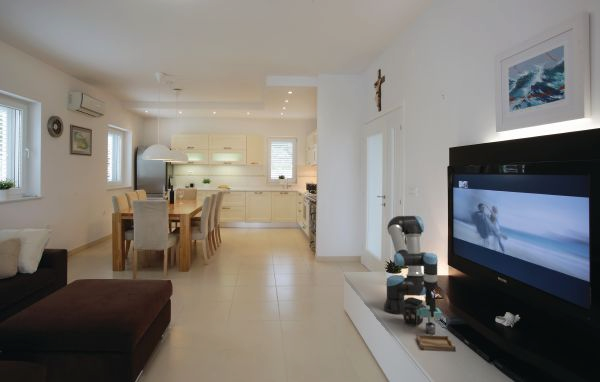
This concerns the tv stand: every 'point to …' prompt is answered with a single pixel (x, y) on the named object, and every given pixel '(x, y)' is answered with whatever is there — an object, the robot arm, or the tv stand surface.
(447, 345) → the tray
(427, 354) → the tv stand surface
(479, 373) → the tv stand surface
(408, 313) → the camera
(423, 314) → the teal rectangular frame
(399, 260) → the robot arm
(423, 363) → the tv stand surface
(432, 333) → the mallet
